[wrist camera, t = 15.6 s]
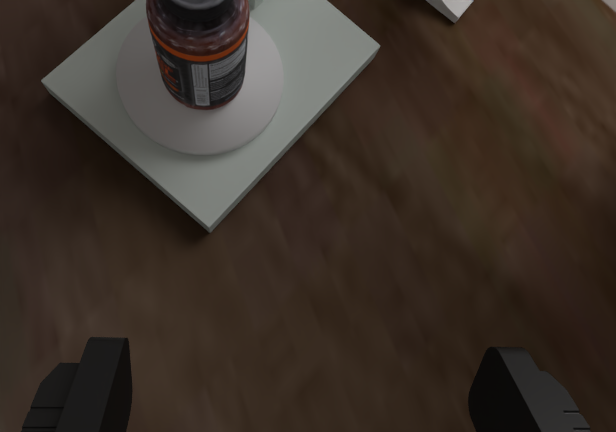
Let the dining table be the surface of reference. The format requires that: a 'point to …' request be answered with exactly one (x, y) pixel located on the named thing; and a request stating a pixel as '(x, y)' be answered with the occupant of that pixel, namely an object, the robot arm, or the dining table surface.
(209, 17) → the supplement bottle
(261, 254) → the dining table surface
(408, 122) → the dining table surface
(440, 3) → the headphone stand
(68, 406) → the robot arm
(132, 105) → the press
